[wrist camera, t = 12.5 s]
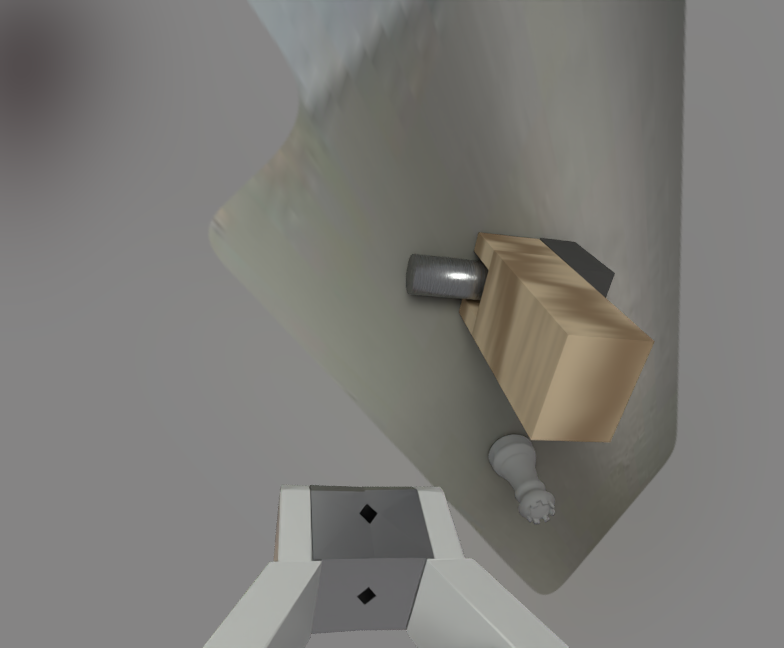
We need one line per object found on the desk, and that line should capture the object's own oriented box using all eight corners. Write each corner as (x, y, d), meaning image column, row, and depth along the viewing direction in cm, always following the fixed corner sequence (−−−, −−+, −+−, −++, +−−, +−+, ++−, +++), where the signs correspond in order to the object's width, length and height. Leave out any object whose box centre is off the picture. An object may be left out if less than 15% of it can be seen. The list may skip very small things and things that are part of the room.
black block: (515, 317, 46) (545, 357, 40) (539, 238, 42) (575, 269, 37) (548, 320, 46) (582, 359, 41) (574, 241, 43) (614, 273, 38)
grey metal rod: (404, 284, 43) (411, 301, 40) (411, 248, 41) (418, 263, 39) (577, 299, 46) (594, 316, 43) (589, 266, 45) (607, 281, 42)
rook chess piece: (536, 455, 54) (572, 519, 47) (494, 473, 54) (524, 539, 47) (523, 424, 52) (559, 486, 45) (480, 443, 52) (508, 508, 45)
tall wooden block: (459, 312, 44) (530, 439, 31) (478, 232, 41) (568, 335, 28) (516, 316, 45) (610, 442, 32) (539, 239, 42) (654, 341, 29)
